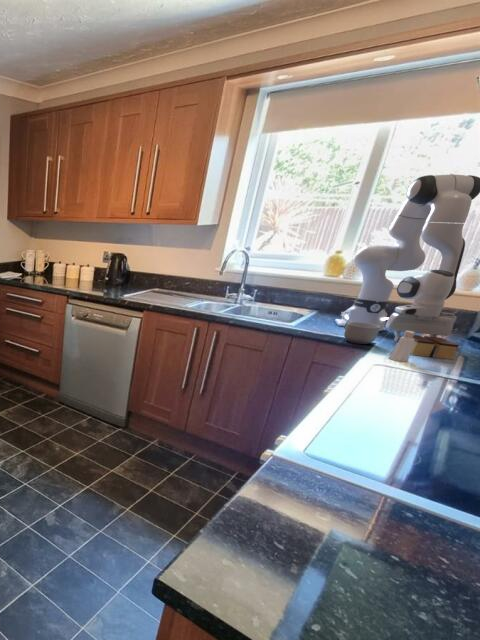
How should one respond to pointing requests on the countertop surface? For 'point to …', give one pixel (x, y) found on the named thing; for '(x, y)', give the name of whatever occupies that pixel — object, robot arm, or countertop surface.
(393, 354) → the pepper shaker
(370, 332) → the teacup
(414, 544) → the countertop surface
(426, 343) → the two-panel tan box
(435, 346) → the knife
